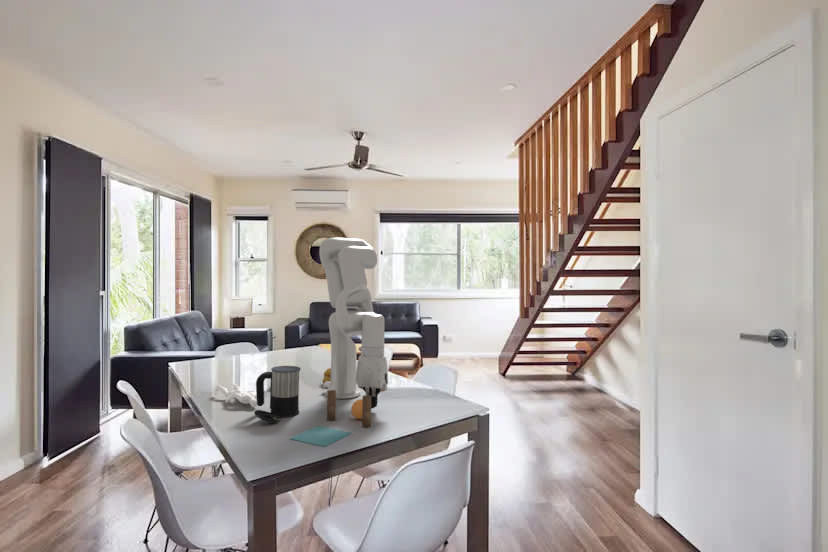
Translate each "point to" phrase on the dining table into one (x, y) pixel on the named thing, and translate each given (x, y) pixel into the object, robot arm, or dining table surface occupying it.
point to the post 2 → (366, 411)
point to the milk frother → (279, 393)
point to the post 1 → (331, 405)
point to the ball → (357, 409)
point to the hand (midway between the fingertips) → (372, 407)
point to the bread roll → (327, 375)
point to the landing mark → (320, 436)
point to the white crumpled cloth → (238, 395)
